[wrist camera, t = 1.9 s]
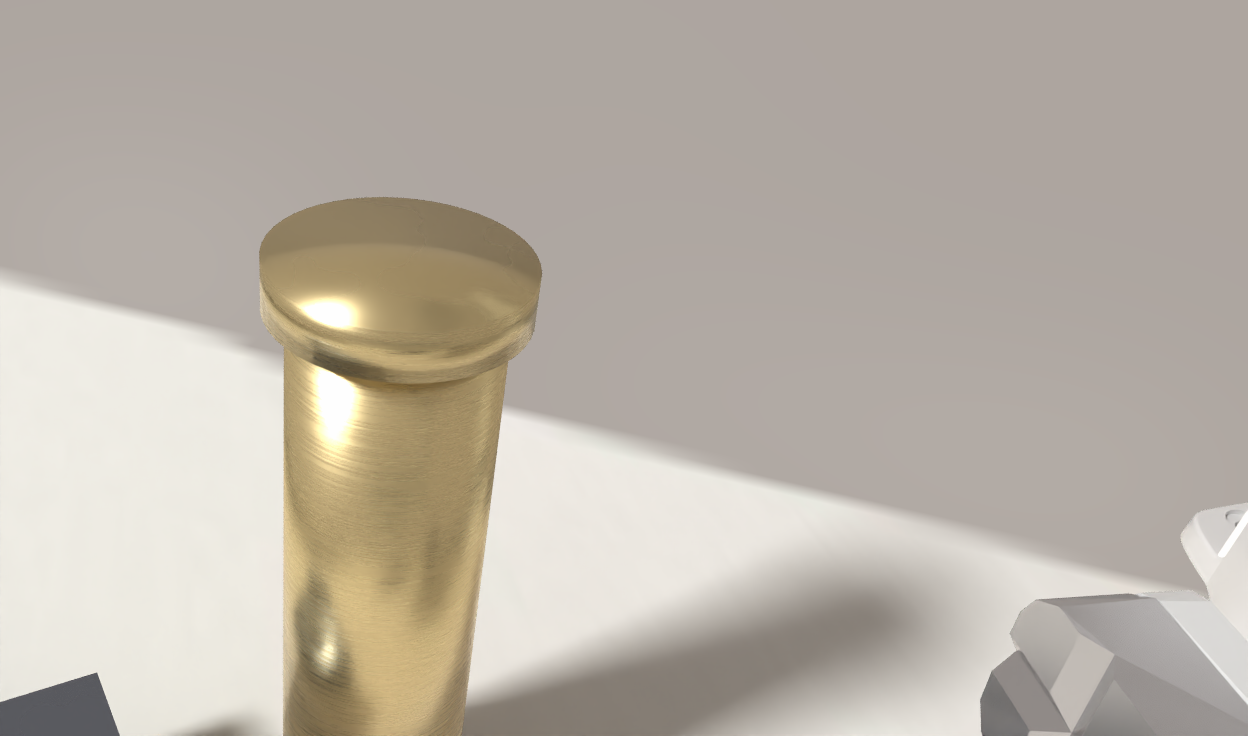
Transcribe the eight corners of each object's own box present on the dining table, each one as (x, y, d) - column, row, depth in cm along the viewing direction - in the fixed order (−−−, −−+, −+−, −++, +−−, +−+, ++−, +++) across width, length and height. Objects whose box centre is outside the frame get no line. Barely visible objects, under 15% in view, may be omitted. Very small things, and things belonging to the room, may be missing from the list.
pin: (417, 701, 31) (464, 185, 23) (504, 843, 28) (592, 303, 20) (236, 768, 28) (220, 213, 20) (309, 934, 25) (323, 353, 17)
